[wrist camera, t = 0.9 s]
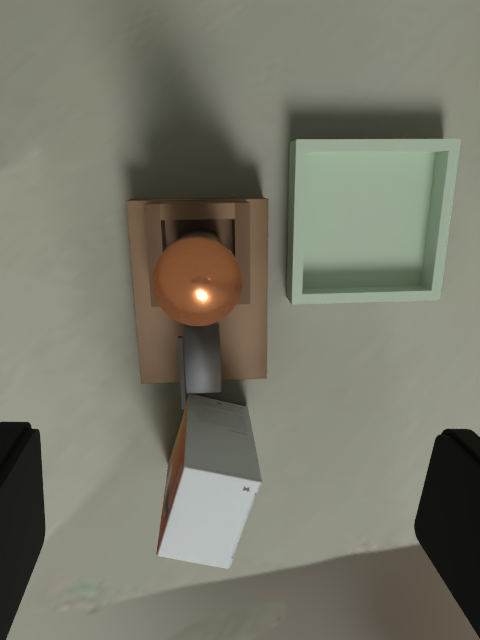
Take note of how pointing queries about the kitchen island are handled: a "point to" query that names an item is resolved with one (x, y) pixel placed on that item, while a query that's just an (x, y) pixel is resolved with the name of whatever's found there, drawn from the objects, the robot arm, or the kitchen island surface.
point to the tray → (369, 219)
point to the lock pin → (197, 279)
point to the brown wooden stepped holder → (210, 340)
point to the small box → (209, 483)
